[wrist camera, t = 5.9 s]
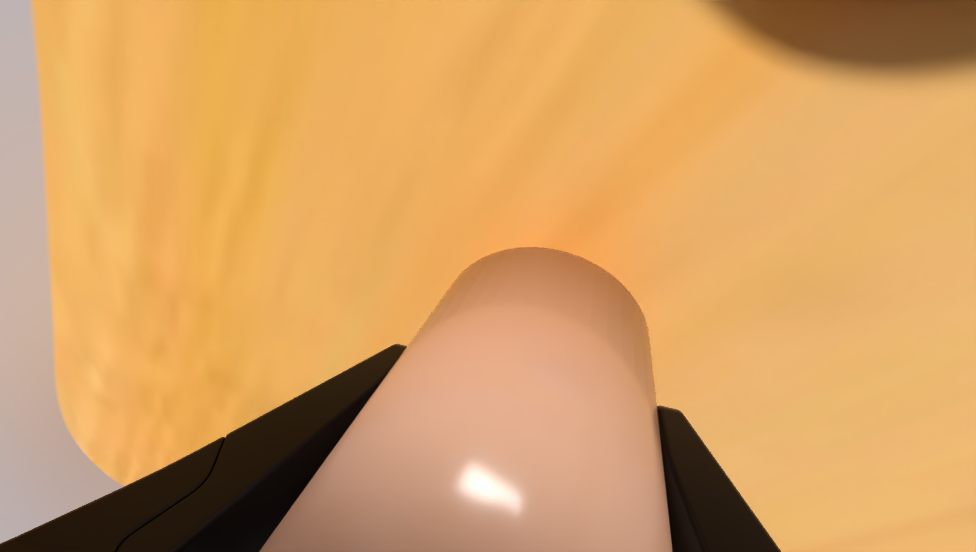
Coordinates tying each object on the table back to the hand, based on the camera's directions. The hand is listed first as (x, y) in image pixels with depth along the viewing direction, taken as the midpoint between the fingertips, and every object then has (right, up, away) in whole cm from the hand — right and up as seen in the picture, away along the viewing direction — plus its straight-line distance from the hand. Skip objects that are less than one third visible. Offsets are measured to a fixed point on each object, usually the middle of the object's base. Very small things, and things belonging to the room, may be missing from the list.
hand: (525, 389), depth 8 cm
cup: (0, +1, +1) cm, 2 cm away
